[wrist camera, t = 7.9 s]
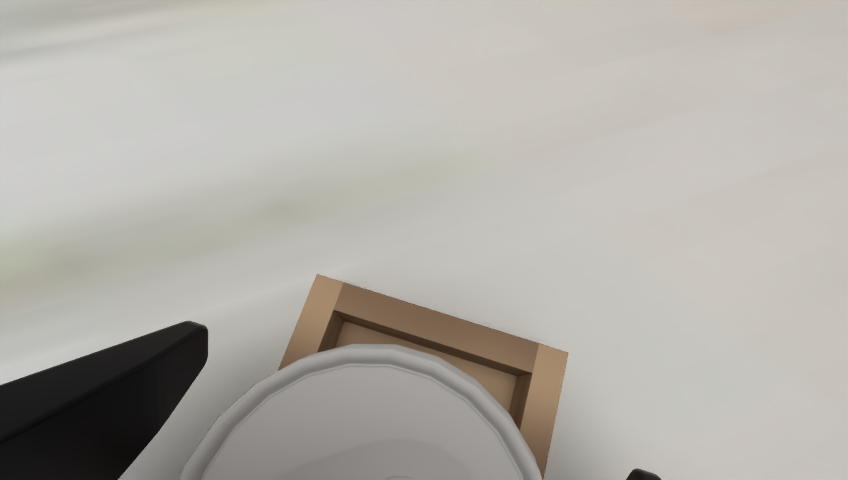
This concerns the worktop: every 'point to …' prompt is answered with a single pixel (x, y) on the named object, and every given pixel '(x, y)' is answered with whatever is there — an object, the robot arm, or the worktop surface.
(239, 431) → the beverage can
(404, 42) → the worktop surface
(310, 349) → the walnut socket
